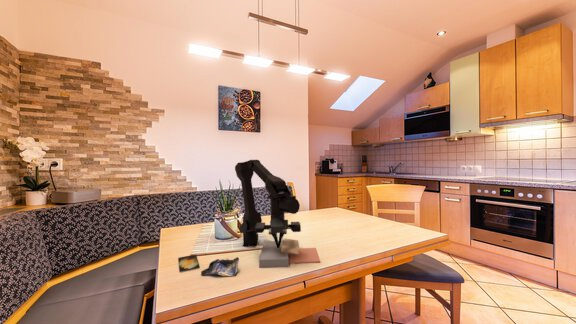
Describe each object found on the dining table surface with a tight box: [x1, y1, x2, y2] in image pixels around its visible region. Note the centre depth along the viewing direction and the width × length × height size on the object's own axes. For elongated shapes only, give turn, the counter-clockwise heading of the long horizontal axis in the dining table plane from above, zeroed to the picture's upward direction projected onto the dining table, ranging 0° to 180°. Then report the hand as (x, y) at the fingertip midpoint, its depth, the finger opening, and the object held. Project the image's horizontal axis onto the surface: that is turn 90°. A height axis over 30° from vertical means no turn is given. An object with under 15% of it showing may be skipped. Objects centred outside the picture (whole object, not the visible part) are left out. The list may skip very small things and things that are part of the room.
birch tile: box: [281, 237, 300, 254], centre depth 99 cm, size 7×9×2 cm
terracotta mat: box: [288, 247, 321, 264], centre depth 99 cm, size 12×14×1 cm
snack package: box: [200, 257, 240, 277], centre depth 86 cm, size 12×7×12 cm
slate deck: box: [258, 240, 290, 269], centre depth 99 cm, size 11×20×3 cm, turn 0°
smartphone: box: [177, 254, 201, 274], centre depth 94 cm, size 7×1×15 cm
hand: (278, 247), depth 99 cm, fingers closed
